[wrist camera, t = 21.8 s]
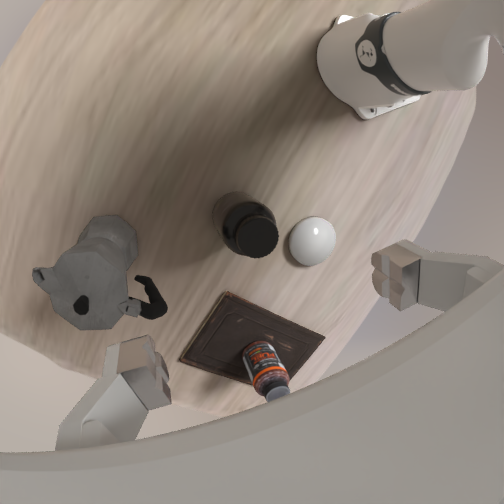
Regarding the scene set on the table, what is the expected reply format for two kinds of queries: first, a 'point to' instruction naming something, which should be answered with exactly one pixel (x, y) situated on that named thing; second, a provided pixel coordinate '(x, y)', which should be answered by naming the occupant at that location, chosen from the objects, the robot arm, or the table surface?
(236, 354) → the hardcover book
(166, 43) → the table surface
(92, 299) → the coffeepot
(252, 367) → the supplement bottle
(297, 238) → the white glossy disc
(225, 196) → the supplement bottle
